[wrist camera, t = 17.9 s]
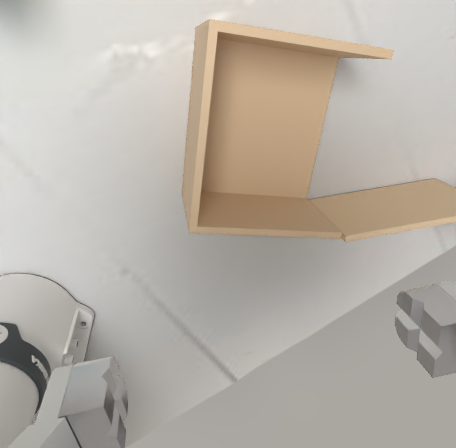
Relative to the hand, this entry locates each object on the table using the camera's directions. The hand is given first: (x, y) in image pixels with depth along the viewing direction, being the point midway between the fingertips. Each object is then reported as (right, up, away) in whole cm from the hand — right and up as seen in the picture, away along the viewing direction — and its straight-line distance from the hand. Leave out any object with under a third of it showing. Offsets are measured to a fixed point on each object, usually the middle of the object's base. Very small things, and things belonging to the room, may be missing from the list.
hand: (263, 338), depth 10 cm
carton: (+3, +16, +37) cm, 40 cm away
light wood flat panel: (+21, +8, +44) cm, 49 cm away
